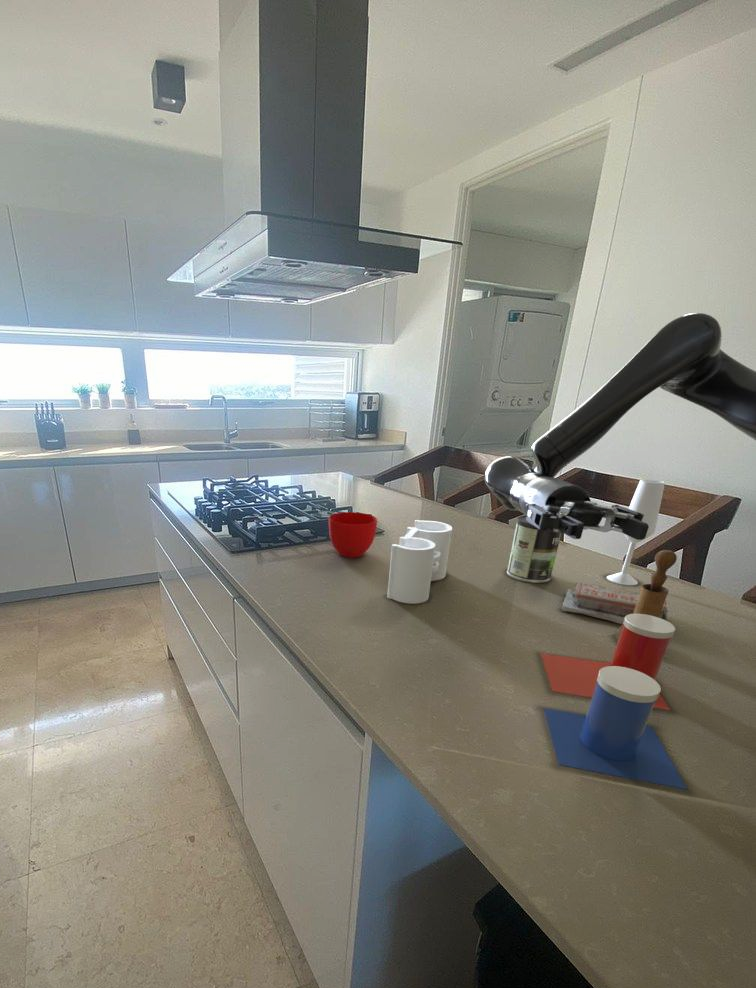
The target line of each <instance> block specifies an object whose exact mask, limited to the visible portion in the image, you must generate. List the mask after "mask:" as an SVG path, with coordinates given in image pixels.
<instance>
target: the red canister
mask: <svg viewBox="0 0 756 988" xmlns="http://www.w3.org/2000/svg"><path fill="white" fill-rule="evenodd" d="M675 631H676V626H674V624H672V623H671V622H670V621H667V619H666V620H663V619H661V618H658V617H655V616H651V615H646V614H628V615H626V616H625V618H624V621H623V627H622V630H621V633H620V636H619V639H618V640H617V643H616V645H615V648H614V652H613V655H612V658H611V661H610V663H611V664H610V666H620V667H626V668H630V669H633V670H637V671H639V672H642V673H644V674H646V675H648V676H649V677H651V678H653V679H654V680H655V681H657V678H658V675H659V673H660V670H661V667H662V664H663V661H664V659H665V656H666V654H667V651H668V648H669V645H670V643H671V641H672V637H673V636H674V635H675Z"/></svg>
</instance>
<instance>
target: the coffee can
mask: <svg viewBox="0 0 756 988" xmlns="http://www.w3.org/2000/svg"><path fill="white" fill-rule="evenodd" d="M526 518H527V516H526V515H525V514H524V515H519V516H517V517H516V525H515V529H514V534H513V539H512V545H511V551H510V556H509V561H508V564H507V569H506V574H507V576H509V577H510V578H513V579H515V580H518V581H521V582H525V583H532V584H541V583H542V584H543V583H544V584H545V583H548V582H549V581H551V579H552V573H553V570H554V565H555V563H556V557H557V553H558V550H559V544H560V541H561V537H562V533H554V532H551V531H549V530H548V531H541V530H539V529H537V528H536V527H534V526H533V525H532V524H530V523H529V522H527V521H526Z"/></svg>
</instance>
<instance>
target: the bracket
mask: <svg viewBox="0 0 756 988" xmlns="http://www.w3.org/2000/svg"><path fill="white" fill-rule="evenodd" d="M452 535H453V527H452V525H450V524H448V523H445V522H443V521H442V522H441V521H436V520H435V521H434V520H421V519H415V520H414V526H407V529H406V534H405V535H404V536H399V543H397V544H395V543H391V551H390V562H389V571H388V573H389V574H388V583H387V595H386V598H387V599H389V600H390V599H391V600H394V601H396V602H399V603H404V604H411V605H413V604H415V605H416V604H421V603H425V602H427V601H428V600H429V598H430V591H431V583H432V582H435V581H440V580H442V579H445V577H446V575H447V568H448V561H449V554H450V547H451V541H452V540H451V539H452Z"/></svg>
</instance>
